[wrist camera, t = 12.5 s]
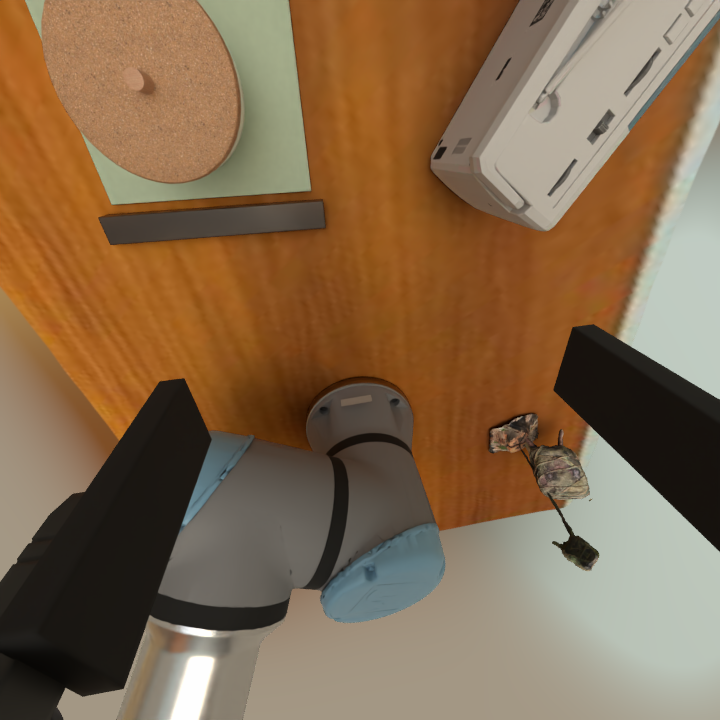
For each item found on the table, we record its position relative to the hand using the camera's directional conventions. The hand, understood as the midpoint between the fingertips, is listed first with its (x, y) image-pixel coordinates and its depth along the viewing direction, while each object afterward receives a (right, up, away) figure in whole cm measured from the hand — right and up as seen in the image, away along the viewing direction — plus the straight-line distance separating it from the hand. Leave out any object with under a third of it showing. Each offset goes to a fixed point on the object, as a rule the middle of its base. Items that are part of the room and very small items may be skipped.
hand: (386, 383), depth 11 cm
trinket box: (-15, +22, +15) cm, 30 cm away
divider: (-14, +14, +20) cm, 29 cm away
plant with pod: (+25, -11, +42) cm, 50 cm away
